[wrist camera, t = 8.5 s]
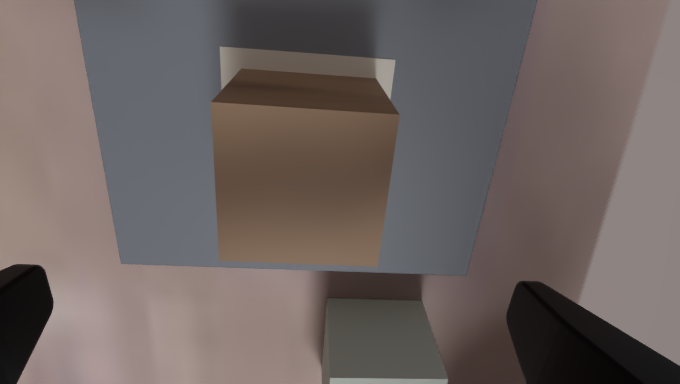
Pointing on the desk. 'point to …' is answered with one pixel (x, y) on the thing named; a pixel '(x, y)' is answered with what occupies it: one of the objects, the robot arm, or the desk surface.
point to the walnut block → (302, 167)
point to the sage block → (379, 343)
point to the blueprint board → (314, 58)
